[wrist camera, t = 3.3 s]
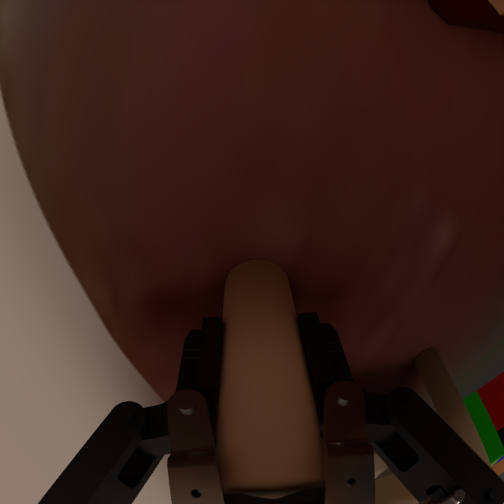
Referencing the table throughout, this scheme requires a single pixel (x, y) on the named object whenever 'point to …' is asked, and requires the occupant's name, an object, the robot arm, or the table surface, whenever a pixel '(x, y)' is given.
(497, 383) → the puzzle toy
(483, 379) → the table surface
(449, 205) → the table surface
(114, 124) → the table surface
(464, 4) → the whiskey bottle
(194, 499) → the robot arm
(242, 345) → the peg
